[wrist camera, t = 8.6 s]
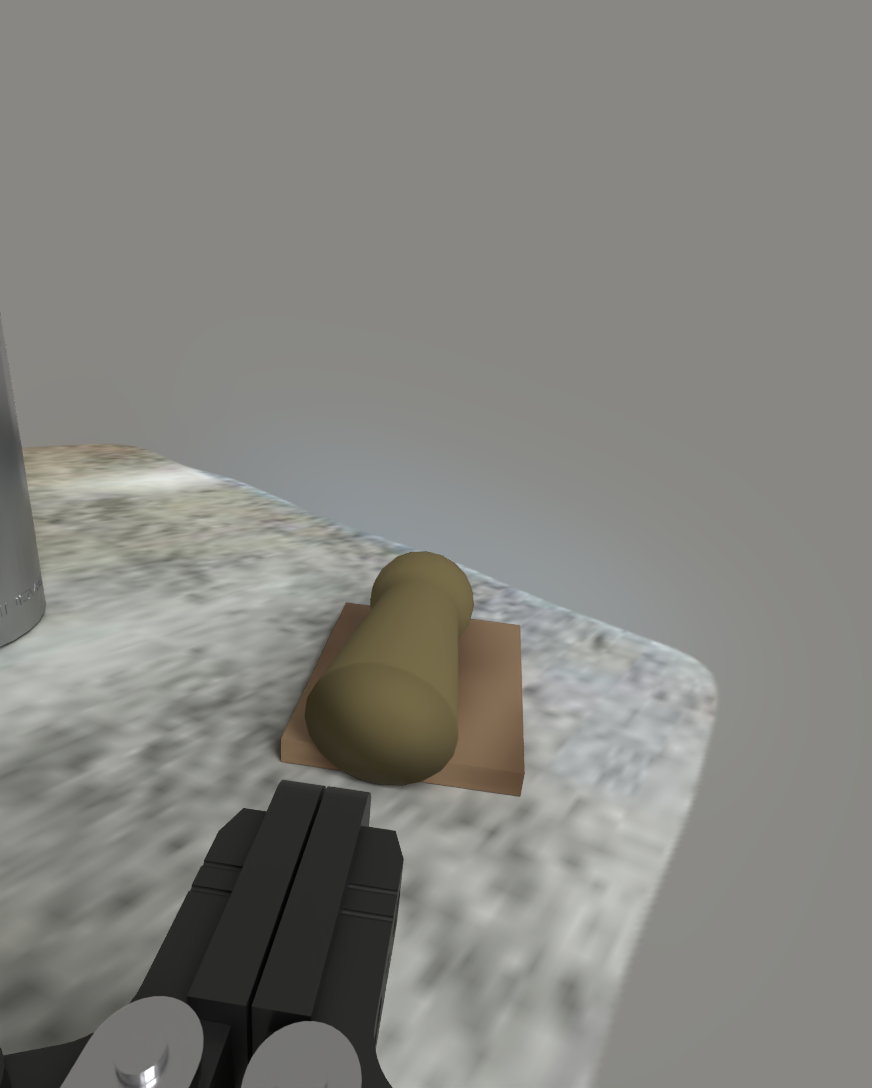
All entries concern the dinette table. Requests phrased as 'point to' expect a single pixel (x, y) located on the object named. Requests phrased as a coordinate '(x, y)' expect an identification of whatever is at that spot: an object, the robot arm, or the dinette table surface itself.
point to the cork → (397, 676)
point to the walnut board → (483, 707)
